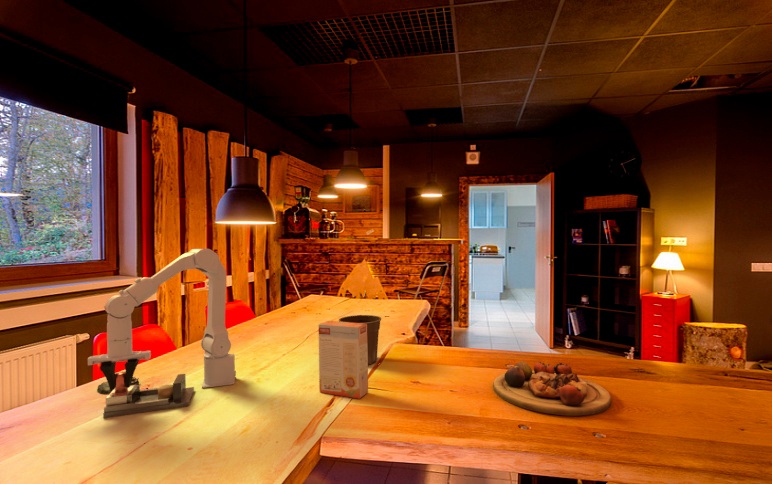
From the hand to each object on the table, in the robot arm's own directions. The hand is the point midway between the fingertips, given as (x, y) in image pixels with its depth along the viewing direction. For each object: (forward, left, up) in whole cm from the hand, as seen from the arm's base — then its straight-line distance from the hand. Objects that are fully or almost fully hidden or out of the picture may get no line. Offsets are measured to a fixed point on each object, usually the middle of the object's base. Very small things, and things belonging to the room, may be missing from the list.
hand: (120, 387), depth 109 cm
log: (+6, -19, -6) cm, 20 cm away
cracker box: (-61, +12, -6) cm, 62 cm away
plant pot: (-74, -16, -6) cm, 76 cm away
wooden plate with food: (-117, +34, -6) cm, 122 cm away
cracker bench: (-8, 0, -6) cm, 10 cm away
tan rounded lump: (-11, 0, -4) cm, 12 cm away
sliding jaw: (-1, 0, -4) cm, 4 cm away
